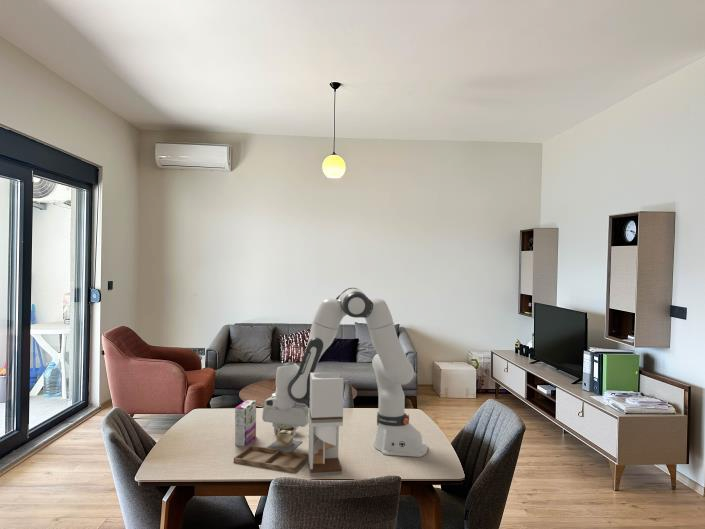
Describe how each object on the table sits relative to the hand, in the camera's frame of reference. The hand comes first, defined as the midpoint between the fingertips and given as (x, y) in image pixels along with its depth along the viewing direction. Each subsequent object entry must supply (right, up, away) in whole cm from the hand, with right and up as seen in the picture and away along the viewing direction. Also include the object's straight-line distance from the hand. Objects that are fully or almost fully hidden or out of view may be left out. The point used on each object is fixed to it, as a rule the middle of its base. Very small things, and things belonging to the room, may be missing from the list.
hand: (285, 434), depth 190 cm
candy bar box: (-18, -5, +4) cm, 19 cm away
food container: (-2, -5, +17) cm, 18 cm away
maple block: (0, -4, 0) cm, 4 cm away
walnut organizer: (-3, -5, -15) cm, 16 cm away
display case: (+18, -6, -21) cm, 28 cm away
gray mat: (0, -5, 0) cm, 5 cm away
